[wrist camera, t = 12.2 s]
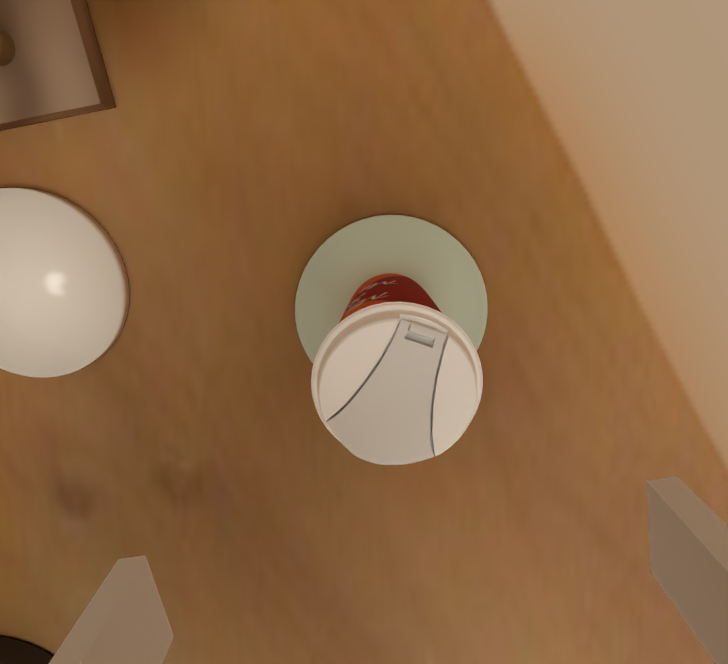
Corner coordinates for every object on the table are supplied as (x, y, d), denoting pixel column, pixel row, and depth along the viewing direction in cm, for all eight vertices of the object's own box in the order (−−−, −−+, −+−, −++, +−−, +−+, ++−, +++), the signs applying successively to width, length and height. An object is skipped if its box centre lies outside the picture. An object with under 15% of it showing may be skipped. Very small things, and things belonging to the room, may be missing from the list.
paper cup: (354, 240, 35) (340, 283, 21) (464, 279, 35) (517, 344, 22) (318, 348, 37) (284, 448, 24) (422, 383, 38) (447, 499, 24)
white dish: (-16, 384, 40) (-28, 390, 38) (-88, 206, 36) (-103, 207, 35) (152, 356, 39) (145, 361, 38) (95, 171, 35) (86, 171, 34)
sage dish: (317, 408, 40) (316, 415, 38) (279, 232, 36) (275, 234, 35) (493, 380, 39) (497, 386, 38) (472, 198, 35) (475, 198, 34)
